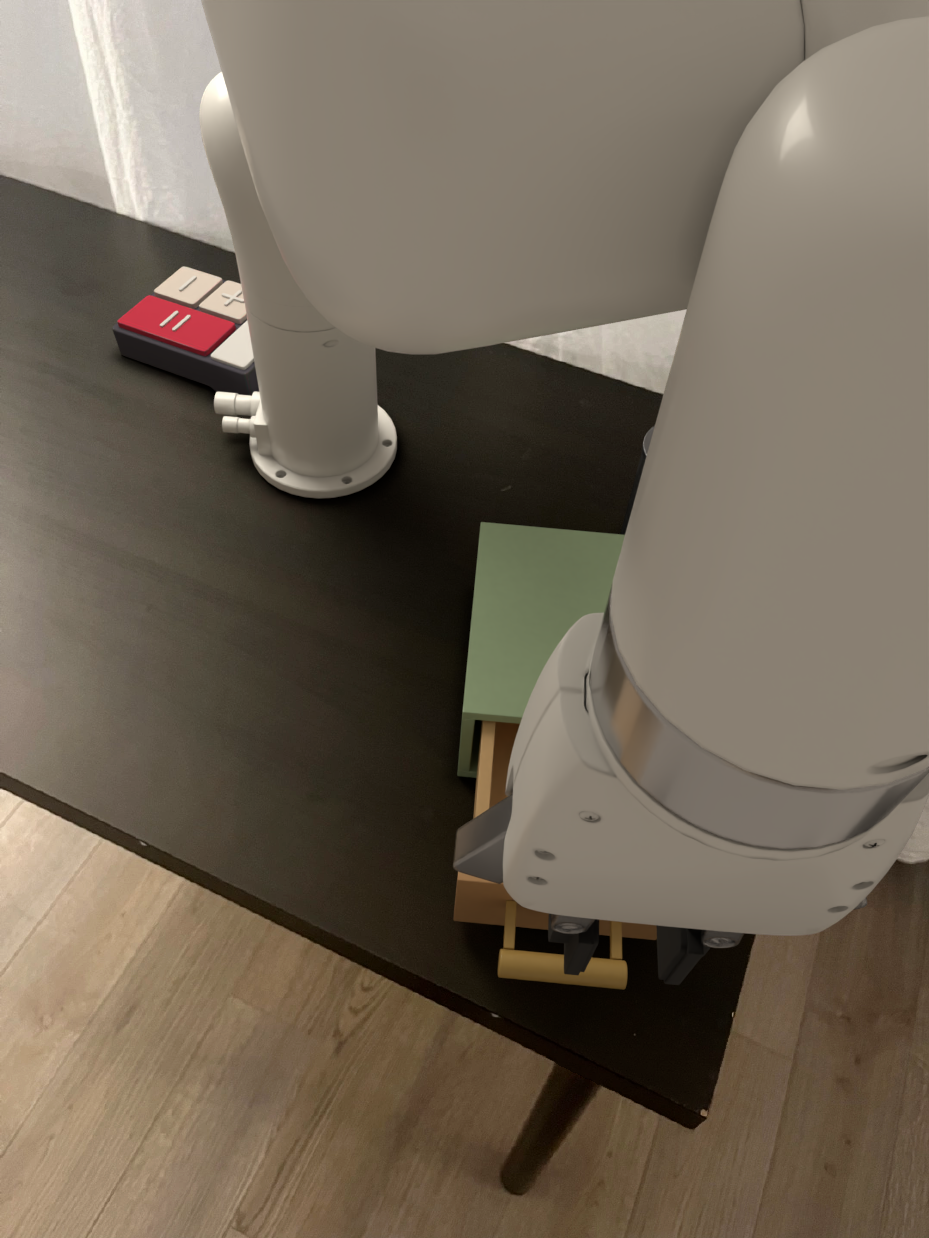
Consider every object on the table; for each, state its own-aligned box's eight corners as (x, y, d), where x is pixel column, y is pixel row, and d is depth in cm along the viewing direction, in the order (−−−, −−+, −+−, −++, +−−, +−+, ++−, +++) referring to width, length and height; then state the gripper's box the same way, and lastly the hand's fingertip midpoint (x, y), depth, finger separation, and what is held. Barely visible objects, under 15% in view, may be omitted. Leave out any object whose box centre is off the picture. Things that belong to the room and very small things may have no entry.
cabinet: (656, 795, 65) (685, 732, 58) (457, 776, 65) (462, 712, 58) (648, 611, 74) (673, 538, 67) (474, 595, 74) (480, 521, 67)
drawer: (658, 1013, 56) (685, 980, 50) (446, 993, 56) (450, 958, 50) (648, 732, 67) (669, 680, 61) (471, 716, 67) (476, 662, 61)
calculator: (181, 259, 92) (313, 300, 88) (191, 298, 96) (319, 340, 91) (106, 321, 86) (244, 368, 82) (120, 360, 90) (253, 407, 85)
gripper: (1084, 575, 23) (822, 863, 38) (416, 515, 23) (415, 825, 38) (1200, 871, 19) (852, 1067, 34) (374, 794, 19) (391, 1022, 34)
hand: (620, 936), depth 36 cm, fingers closed
